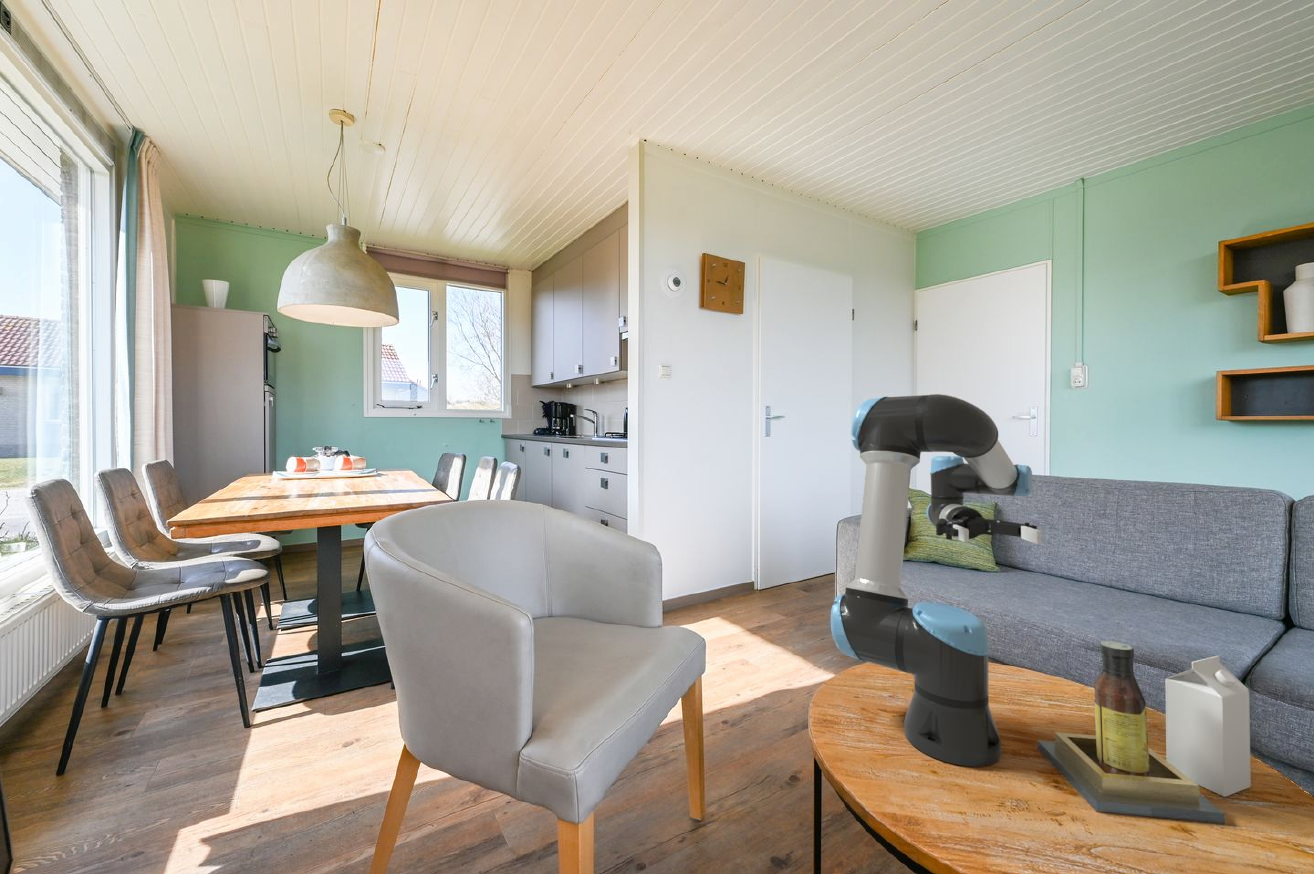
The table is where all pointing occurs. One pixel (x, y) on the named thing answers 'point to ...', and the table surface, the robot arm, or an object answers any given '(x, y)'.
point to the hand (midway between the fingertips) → (1002, 536)
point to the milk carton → (1209, 727)
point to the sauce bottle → (1120, 714)
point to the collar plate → (1128, 783)
